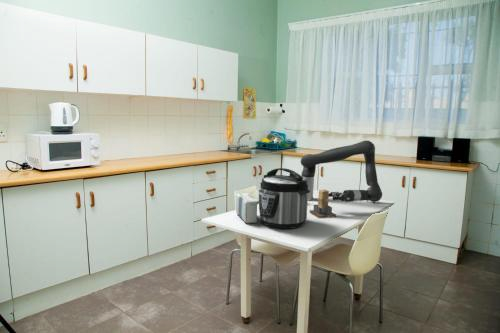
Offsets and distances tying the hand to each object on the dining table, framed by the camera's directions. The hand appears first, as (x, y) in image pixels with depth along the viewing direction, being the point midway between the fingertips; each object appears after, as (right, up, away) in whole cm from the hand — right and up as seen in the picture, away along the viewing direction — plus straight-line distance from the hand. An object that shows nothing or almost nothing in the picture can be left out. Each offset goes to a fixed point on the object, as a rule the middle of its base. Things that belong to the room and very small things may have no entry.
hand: (329, 196), depth 224 cm
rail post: (-4, -10, 0) cm, 11 cm away
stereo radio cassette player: (-52, -12, -12) cm, 55 cm away
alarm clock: (+40, -8, +35) cm, 53 cm away
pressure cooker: (-32, -14, -18) cm, 39 cm away
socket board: (-4, -11, +1) cm, 12 cm away
